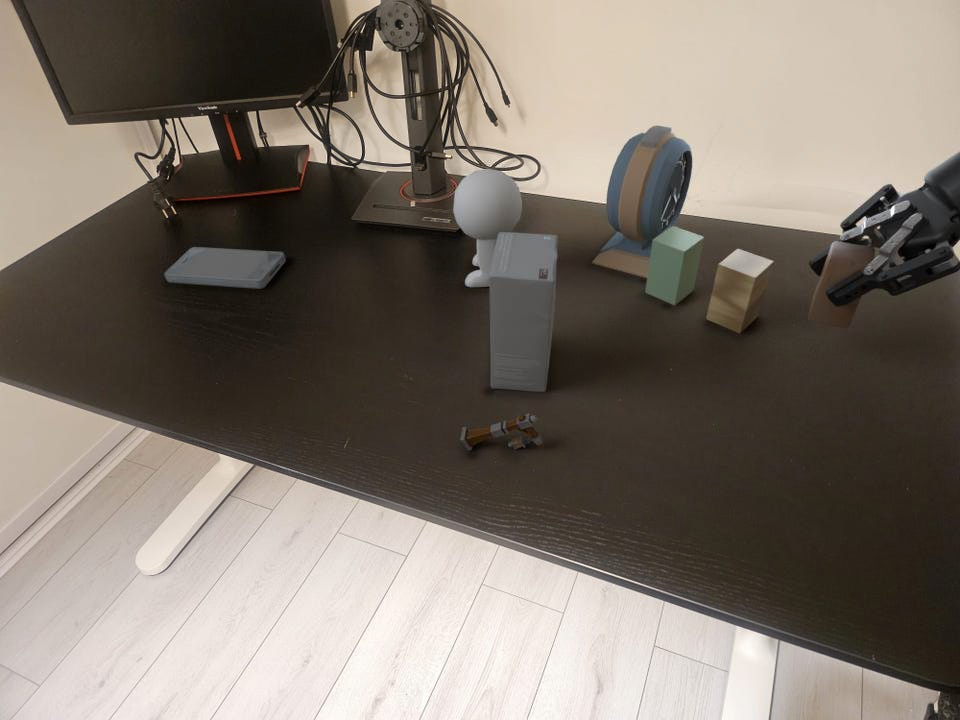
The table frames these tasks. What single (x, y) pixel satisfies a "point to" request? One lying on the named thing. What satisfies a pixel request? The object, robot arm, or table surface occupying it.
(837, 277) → the wooden block
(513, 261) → the cosmetic box
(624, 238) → the alarm clock
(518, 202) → the toy character
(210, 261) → the phone
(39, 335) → the table surface
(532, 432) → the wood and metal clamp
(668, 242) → the line block
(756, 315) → the line block
